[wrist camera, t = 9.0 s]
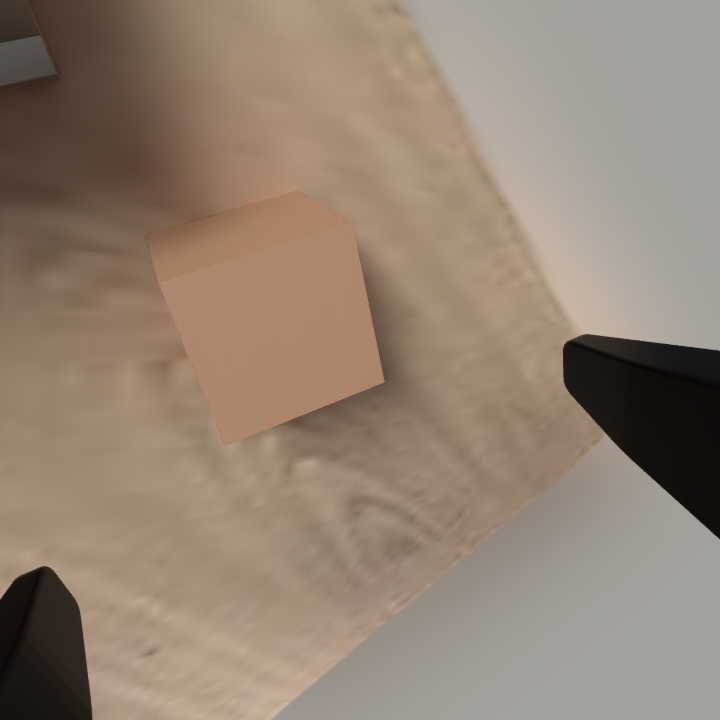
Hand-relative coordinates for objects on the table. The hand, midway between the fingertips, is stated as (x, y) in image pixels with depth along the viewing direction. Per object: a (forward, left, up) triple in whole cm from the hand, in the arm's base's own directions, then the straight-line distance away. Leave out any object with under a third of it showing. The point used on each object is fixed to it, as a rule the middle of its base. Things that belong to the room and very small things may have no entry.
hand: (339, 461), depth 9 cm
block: (-1, -1, -11) cm, 11 cm away
